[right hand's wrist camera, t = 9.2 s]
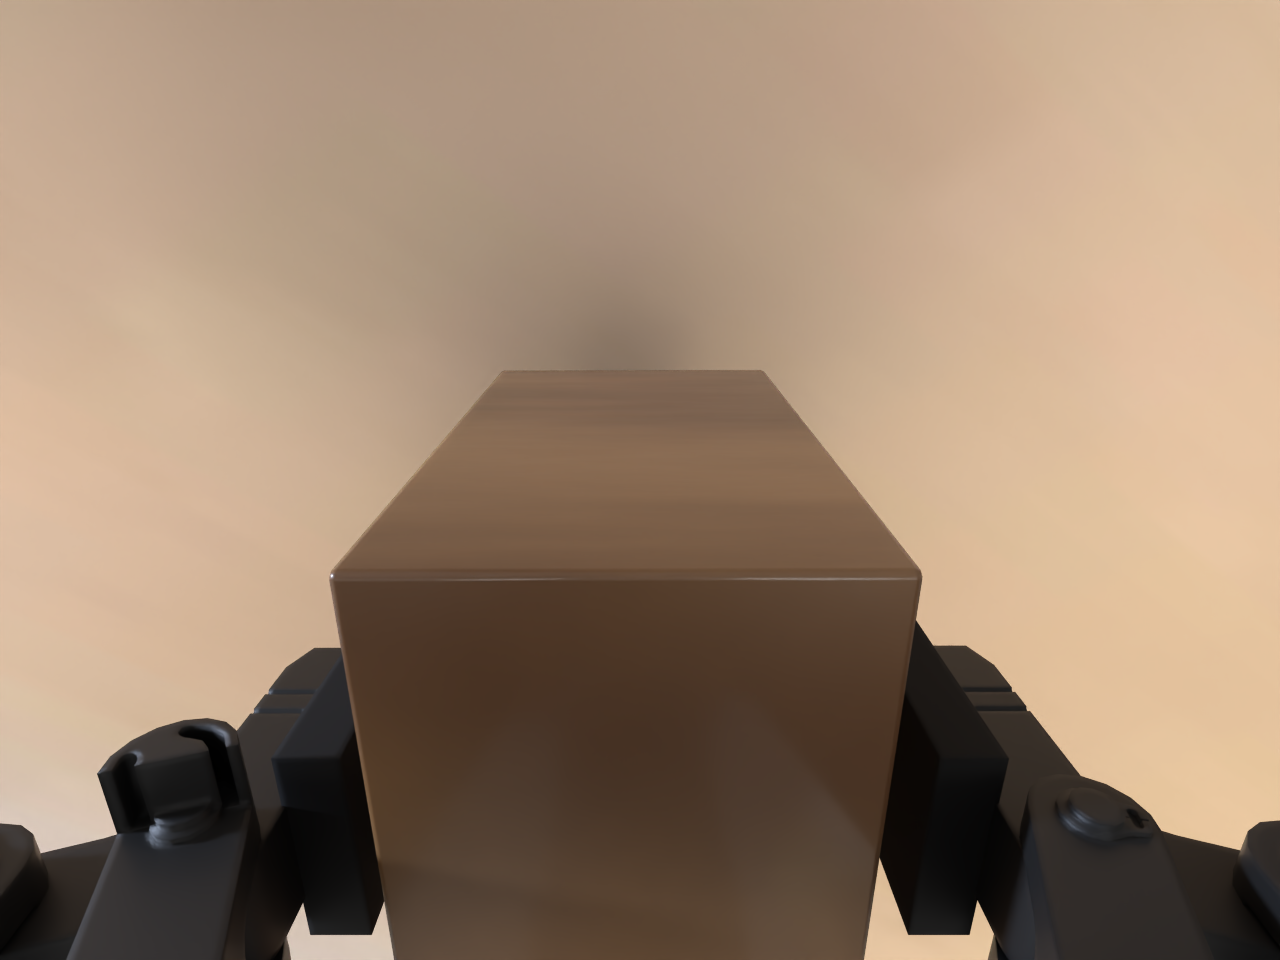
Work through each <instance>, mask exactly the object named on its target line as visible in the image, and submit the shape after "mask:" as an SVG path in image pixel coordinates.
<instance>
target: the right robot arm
mask: <svg viewBox="0 0 1280 960" xmlns="http://www.w3.org/2000/svg"><path fill="white" fill-rule="evenodd" d="M97 775H98V778H99V781H100V784H101V787H102V790H103V793H104V796H105V799H106V802H107V805H108V808H109V811H110V814H111V817H112V820H113V823H114V826H115V829H116V832H117V835H114V836H110V837H107V838H104V839H100V840H95V841H91V842H87V843H83V844H78V845H74V846H70V847H66V848H62V849H57V850H53V851H49V852H45V853H40V851H39V848H38V845H37V843H36V840H35V838H34V835H33V834H32V833H31V832H30V831H28V830H27V829H26V828H24V827H23V826H22V825H12V824H0V960H291V957H290V950H289V945H288V941H287V934H288V932H289V930H290V928H291V926H292V924H293V922H294V920H295V918H296V916H297V914H298V912H299V910H300V908H301V906H302V904H304V908H305V913H306V917H307V922H308V926H309V930H310V935H372V933H373V930H374V927H375V925H376V922H377V919H378V917H379V914H380V911H381V908H382V906H383V903H384V896H383V890H382V884H381V878H380V873H379V867H378V861H377V855H376V849H375V843H374V838H373V832H372V826H371V820H370V814H369V808H368V802H367V797H366V791H365V785H364V779H363V773H362V767H361V762H360V756H359V750H358V744H357V738H356V732H355V726H354V721H353V715H352V709H351V703H350V697H349V691H348V685H347V680H346V674H345V668H344V662H343V656H342V650H341V648H314V649H312V650H311V651H309V652H308V653H306V654H305V655H304V656H302V657H301V658H299V659H298V660H296V661H295V662H293V663H292V664H290V665H289V666H288V667H286V668H285V670H284V671H283V672H282V674H281V675H280V676H279V677H278V679H277V680H276V681H275V683H274V684H273V685H272V686H271V688H270V689H269V694H265V696H264V697H263V698H262V699H261V701H260V702H259V703H258V705H257V706H256V707H255V708H254V713H253V714H250V715H249V716H248V717H247V719H246V720H245V721H244V723H243V724H242V725H241V726H240V728H239V729H238V730H237V731H236V730H235V729H234V728H233V727H232V726H230V725H229V724H228V723H227V722H224V721H219V720H214V719H209V718H204V719H193V720H183V721H180V722H176V723H173V724H169V725H166V726H162V727H159V728H156V729H154V730H152V731H150V732H148V733H146V734H144V735H142V736H140V737H138V738H136V739H134V740H132V741H130V742H129V743H128V744H126V745H125V746H124V747H122V748H121V749H120V750H118V751H117V752H116V753H114V754H113V755H112V756H110V758H109V759H108V760H107V762H106V763H105V764H104V766H103V767H102V768H101V769H100V771H99V772H98V773H97ZM880 860H881V863H882V865H883V868H884V871H885V873H886V876H887V879H888V882H889V884H890V887H891V890H892V892H893V895H894V898H895V900H896V903H897V906H898V908H899V911H900V914H901V917H902V919H903V922H904V925H905V927H906V930H907V933H908V935H970V930H971V926H972V922H973V917H974V913H975V908H976V904H977V900H978V902H979V904H980V906H981V908H982V910H983V912H984V914H985V916H986V918H987V920H988V922H989V924H990V926H991V929H992V931H993V933H994V936H993V941H992V945H991V949H990V953H989V957H988V960H1280V821H1269V822H1260V823H1258V824H1257V825H1256V826H1254V827H1253V828H1252V829H1250V830H1249V831H1248V832H1247V835H1246V838H1245V840H1244V843H1243V845H1242V848H1241V851H1240V850H1236V849H1232V848H1227V847H1223V846H1219V845H1215V844H1211V843H1206V842H1202V841H1198V840H1194V839H1189V838H1185V837H1181V836H1177V835H1173V834H1170V833H1167V832H1164V831H1161V830H1160V828H1159V827H1158V825H1157V824H1156V822H1155V820H1154V819H1153V817H1152V816H1151V815H1150V814H1149V813H1148V812H1147V811H1146V810H1145V809H1143V808H1142V807H1141V806H1140V805H1139V804H1137V803H1136V802H1135V801H1134V800H1133V799H1132V798H1130V797H1128V796H1127V795H1125V794H1123V793H1121V792H1119V791H1118V790H1116V789H1114V788H1112V787H1110V786H1109V785H1107V784H1104V783H1101V782H1098V781H1095V780H1092V779H1088V778H1085V777H1082V776H1080V774H1079V773H1078V772H1077V771H1076V769H1075V768H1074V767H1073V765H1072V764H1071V763H1070V762H1069V760H1068V759H1067V758H1066V756H1065V755H1064V754H1063V753H1062V751H1061V750H1060V749H1059V748H1058V746H1057V745H1056V744H1055V742H1054V741H1053V740H1052V739H1051V737H1050V736H1049V735H1048V733H1047V732H1046V731H1045V730H1044V728H1043V727H1042V726H1041V724H1040V723H1039V722H1038V721H1037V719H1036V718H1035V717H1034V716H1033V714H1032V713H1031V712H1030V711H1027V709H1026V705H1025V704H1024V703H1023V701H1022V700H1021V699H1020V698H1019V696H1018V695H1017V694H1016V692H1012V687H1011V686H1010V685H1009V683H1008V682H1007V681H1006V680H1005V678H1004V677H1003V676H1002V675H1001V673H1000V672H999V671H998V669H997V668H996V667H995V666H994V665H993V664H992V663H990V662H989V661H987V660H986V659H985V658H983V657H982V656H980V655H979V654H977V653H976V652H974V651H973V650H971V649H970V648H969V647H967V646H933V645H932V643H931V642H930V640H929V639H928V637H927V636H926V634H925V633H924V631H923V630H922V628H921V627H920V626H919V624H918V623H917V621H916V622H915V629H914V635H913V642H912V648H911V655H910V661H909V668H908V674H907V681H906V687H905V694H904V700H903V707H902V714H901V720H900V727H899V733H898V740H897V746H896V753H895V759H894V766H893V772H892V779H891V785H890V792H889V798H888V805H887V811H886V818H885V824H884V831H883V838H882V844H881V851H880Z"/></svg>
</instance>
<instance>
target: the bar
mask: <svg viewBox="0 0 1280 960" xmlns="http://www.w3.org/2000/svg"><path fill="white" fill-rule="evenodd" d="M329 578H330V586H331V592H332V598H333V604H334V609H335V615H336V621H337V627H338V633H339V639H340V645H341V650H342V656H343V662H344V668H345V674H346V680H347V685H348V691H349V697H350V703H351V709H352V715H353V721H354V726H355V732H356V738H357V744H358V750H359V756H360V762H361V767H362V773H363V779H364V785H365V791H366V797H367V802H368V808H369V814H370V820H371V826H372V832H373V838H374V843H375V849H376V855H377V861H378V867H379V873H380V878H381V884H382V890H383V896H384V902H385V908H386V914H387V919H388V925H389V931H390V937H391V943H392V949H393V955H394V960H864V955H865V949H866V942H867V935H868V929H869V922H870V916H871V909H872V903H873V896H874V890H875V883H876V877H877V870H878V864H879V857H880V851H881V844H882V838H883V831H884V824H885V818H886V811H887V805H888V798H889V792H890V785H891V779H892V772H893V766H894V759H895V753H896V746H897V740H898V733H899V727H900V720H901V714H902V707H903V700H904V694H905V687H906V681H907V674H908V668H909V661H910V655H911V648H912V642H913V635H914V629H915V622H916V616H917V609H918V603H919V596H920V589H921V583H922V573H921V570H920V569H919V568H918V566H917V565H916V564H915V562H914V561H913V560H912V559H911V557H910V556H909V555H908V554H907V552H906V551H905V550H904V549H903V547H902V546H901V545H900V543H899V542H898V541H897V540H896V538H895V537H894V536H893V535H892V533H891V532H890V531H889V530H888V528H887V527H886V526H885V524H884V523H883V522H882V521H881V519H880V518H879V517H878V516H877V514H876V513H875V512H874V511H873V509H872V508H871V507H870V505H869V504H868V503H867V502H866V500H865V499H864V498H863V497H862V495H861V494H860V493H859V492H858V490H857V489H856V488H855V486H854V485H853V484H852V483H851V481H850V480H849V479H848V478H847V476H846V475H845V474H844V473H843V471H842V470H841V469H840V467H839V466H838V465H837V464H836V462H835V461H834V460H833V459H832V457H831V456H830V455H829V454H828V452H827V451H826V450H825V448H824V447H823V446H822V445H821V443H820V442H819V441H818V440H817V438H816V437H815V436H814V435H813V433H812V432H811V431H810V430H809V428H808V427H807V426H806V424H805V423H804V422H803V421H802V419H801V418H800V417H799V416H798V414H797V413H796V412H795V411H794V409H793V408H792V407H791V405H790V404H789V403H788V402H787V400H786V399H785V398H784V397H783V395H782V394H781V393H780V392H779V390H778V389H777V388H776V386H775V385H774V384H773V383H772V381H771V380H770V379H769V378H768V376H767V375H766V374H765V373H764V372H763V371H761V370H663V371H503V372H501V373H500V375H499V376H498V377H497V378H496V379H495V380H494V382H493V383H492V384H491V385H490V386H489V387H488V389H487V390H486V391H485V392H484V393H483V395H482V396H481V397H480V398H479V399H478V400H477V402H476V403H475V404H474V405H473V406H472V407H471V409H470V410H469V411H468V412H467V413H466V414H465V416H464V417H463V418H462V419H461V420H460V421H459V423H458V424H457V425H456V426H455V427H454V428H453V430H452V431H451V432H450V433H449V434H448V435H447V437H446V438H445V439H444V440H443V441H442V442H441V444H440V445H439V446H438V447H437V448H436V449H435V451H434V452H433V453H432V454H431V455H430V456H429V458H428V459H427V460H426V461H425V462H424V463H423V465H422V466H421V467H420V468H419V469H418V470H417V472H416V473H415V474H414V475H413V476H412V477H411V479H410V480H409V481H408V482H407V483H406V484H405V486H404V487H403V488H402V489H401V490H400V491H399V493H398V494H397V495H396V496H395V497H394V498H393V500H392V501H391V502H390V503H389V504H388V505H387V507H386V508H385V509H384V510H383V511H382V512H381V514H380V515H379V516H378V517H377V518H376V519H375V521H374V522H373V523H372V524H371V525H370V526H369V528H368V529H367V530H366V531H365V532H364V533H363V535H362V536H361V537H360V538H359V539H358V541H357V542H356V543H355V544H354V545H353V546H352V548H351V549H350V550H349V551H348V552H347V553H346V555H345V556H344V557H343V558H342V559H341V560H340V562H339V563H338V564H337V565H336V566H335V567H334V569H333V570H332V571H331V574H330V577H329Z"/></svg>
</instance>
